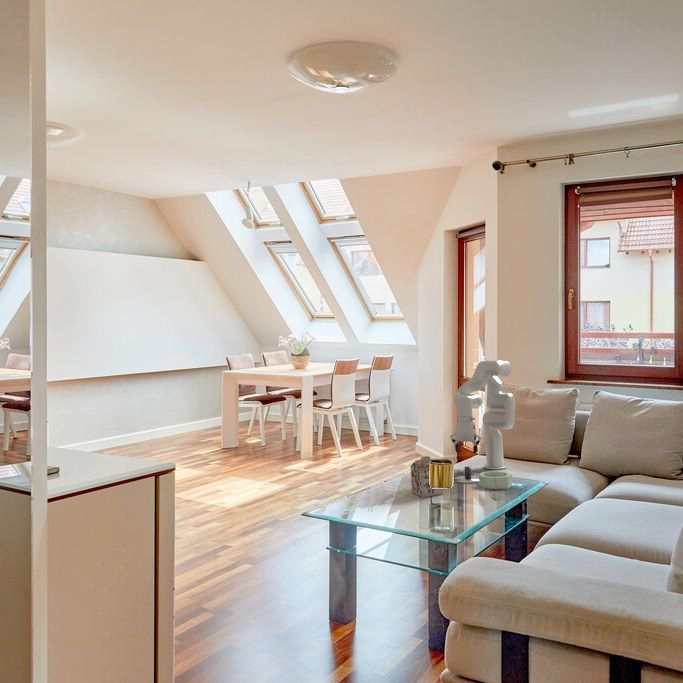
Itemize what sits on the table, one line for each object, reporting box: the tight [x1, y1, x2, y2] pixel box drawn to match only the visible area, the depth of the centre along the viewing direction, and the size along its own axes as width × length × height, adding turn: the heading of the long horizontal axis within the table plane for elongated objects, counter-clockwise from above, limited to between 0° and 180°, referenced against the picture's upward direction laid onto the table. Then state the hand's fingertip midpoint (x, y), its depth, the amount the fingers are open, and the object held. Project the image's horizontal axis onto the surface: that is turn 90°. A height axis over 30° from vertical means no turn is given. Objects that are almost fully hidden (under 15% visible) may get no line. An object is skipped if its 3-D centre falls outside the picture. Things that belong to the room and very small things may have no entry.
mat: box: [455, 482, 479, 486], centre depth 352 cm, size 17×17×1 cm
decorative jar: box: [410, 455, 444, 498], centre depth 330 cm, size 12×12×18 cm
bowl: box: [478, 470, 513, 490], centre depth 338 cm, size 15×15×6 cm
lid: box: [454, 466, 479, 484], centre depth 352 cm, size 16×16×7 cm
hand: (466, 452), depth 352 cm, fingers open, 9 cm apart
